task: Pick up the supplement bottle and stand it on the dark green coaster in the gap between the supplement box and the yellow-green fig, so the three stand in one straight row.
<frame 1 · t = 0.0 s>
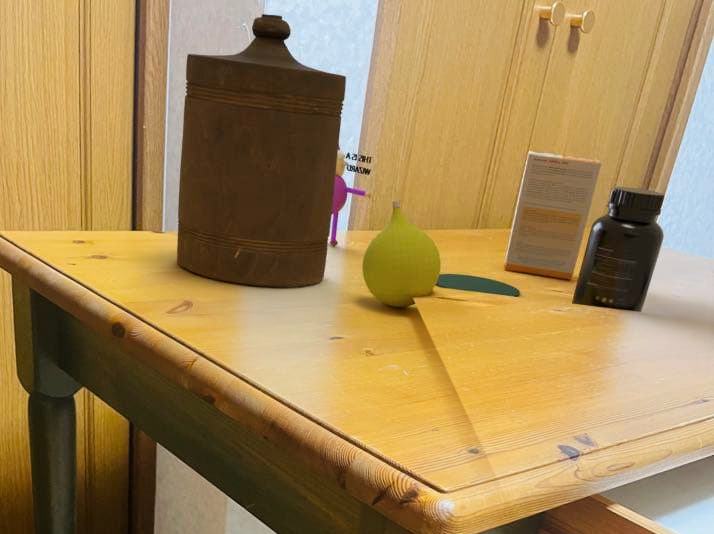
wizard figurine: (324, 246, 102), on the table
wooden container: (250, 271, 85), on the table
supplement box: (536, 273, 103), on the table
dark green coaster: (474, 286, 91), on the table
yellow-green fig: (394, 307, 79), on the table
supplement bottle: (602, 318, 85), on the table
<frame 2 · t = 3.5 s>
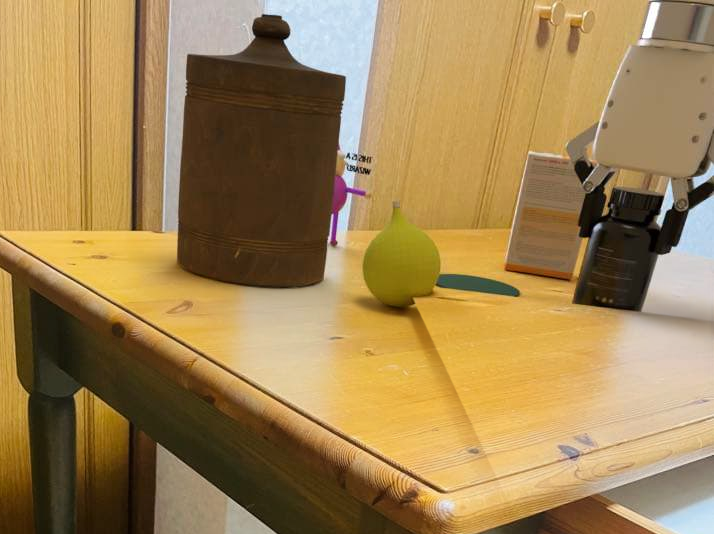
hand: (624, 243, 82), 7 cm above the table, tool pointing down, fingers closed on supplement bottle, 6 cm apart
supplement bottle: (602, 318, 85), on the table, touching gripper
everything else where it was.
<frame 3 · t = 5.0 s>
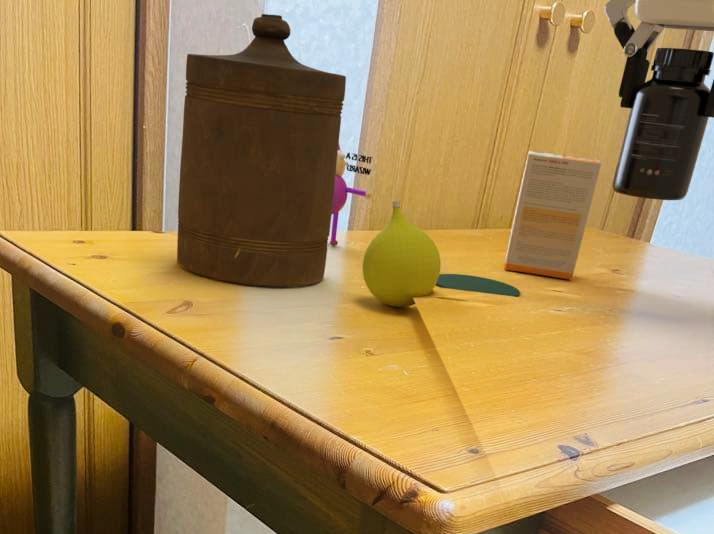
hand: (669, 110, 76), 19 cm above the table, tool pointing down, fingers closed on supplement bottle, 6 cm apart
supplement bottle: (646, 197, 80), point 11 cm above the table, touching gripper
everything else where it was.
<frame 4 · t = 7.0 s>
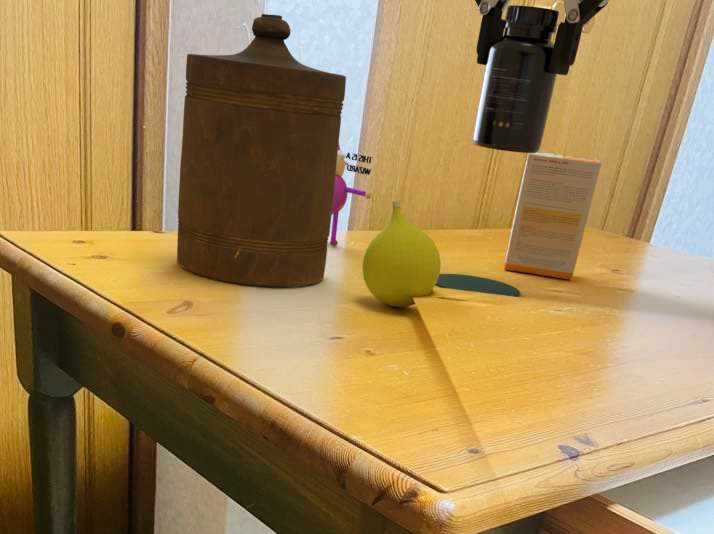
hand: (521, 67, 81), 21 cm above the table, tool pointing down, fingers closed on supplement bottle, 6 cm apart
supplement bottle: (504, 151, 84), point 13 cm above the table, touching gripper
everything else where it was.
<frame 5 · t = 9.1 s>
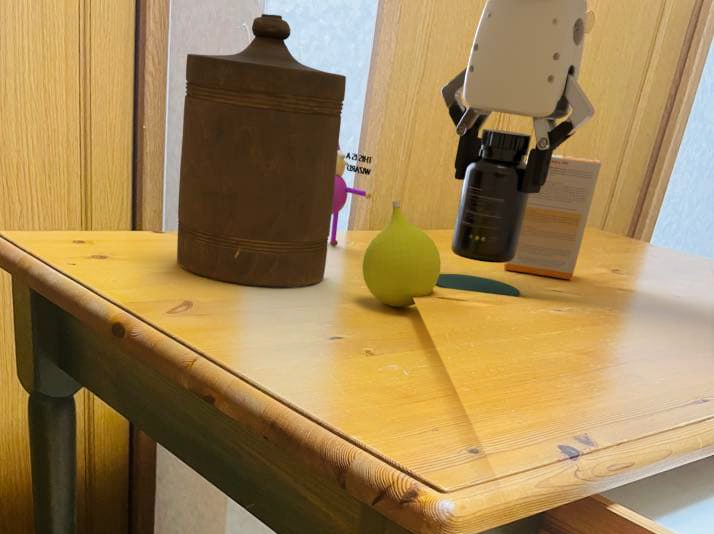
hand: (496, 184, 86), 10 cm above the table, tool pointing down, fingers closed on supplement bottle, 6 cm apart
supplement bottle: (480, 258, 89), point 3 cm above the table, touching gripper
everything else where it was.
when the fingers open (7 cm above the table, at t = 10.5 s): supplement bottle stays where it is, resting on dark green coaster.
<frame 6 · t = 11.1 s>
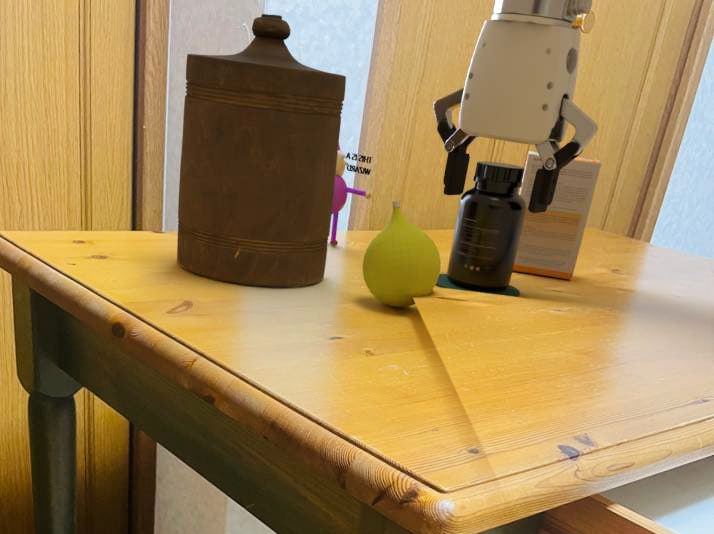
hand: (493, 202, 87), 9 cm above the table, tool pointing down, fingers open, 9 cm apart
supplement bottle: (475, 286, 91), resting on dark green coaster
everything else where it was.
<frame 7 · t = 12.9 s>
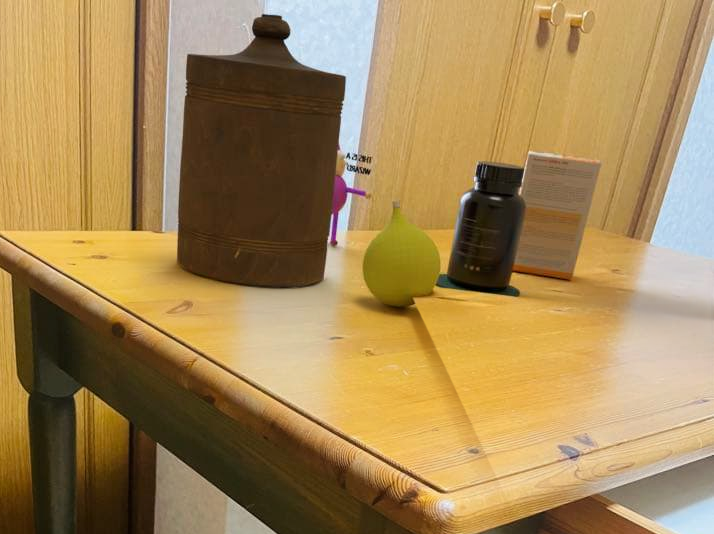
nothing on the table moved.
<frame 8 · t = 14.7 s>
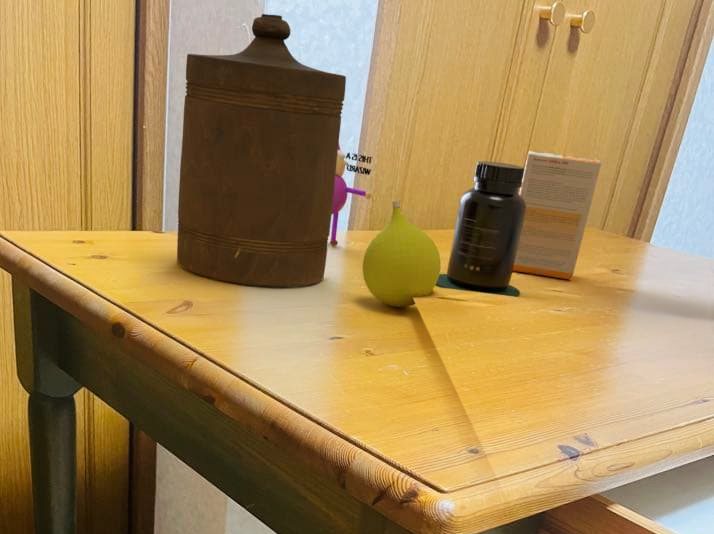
nothing on the table moved.
at the end: supplement bottle 0.1 cm from the target spot on the table beside the supplement box, resting on dark green coaster; supplement bottle 16.4 cm from the yellow-green fig (horizontally); supplement bottle tilted 0° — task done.
